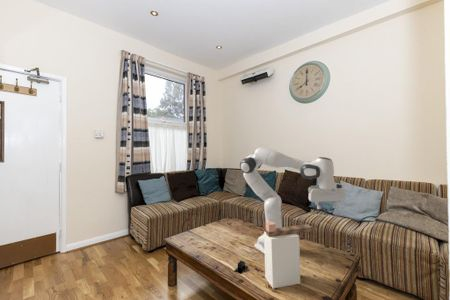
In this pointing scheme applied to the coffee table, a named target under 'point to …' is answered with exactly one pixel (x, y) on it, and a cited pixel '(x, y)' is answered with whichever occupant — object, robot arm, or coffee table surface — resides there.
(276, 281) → the pedestal
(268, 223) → the terracotta cube
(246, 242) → the coffee table surface
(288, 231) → the walnut strip
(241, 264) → the black angular part
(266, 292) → the coffee table surface
